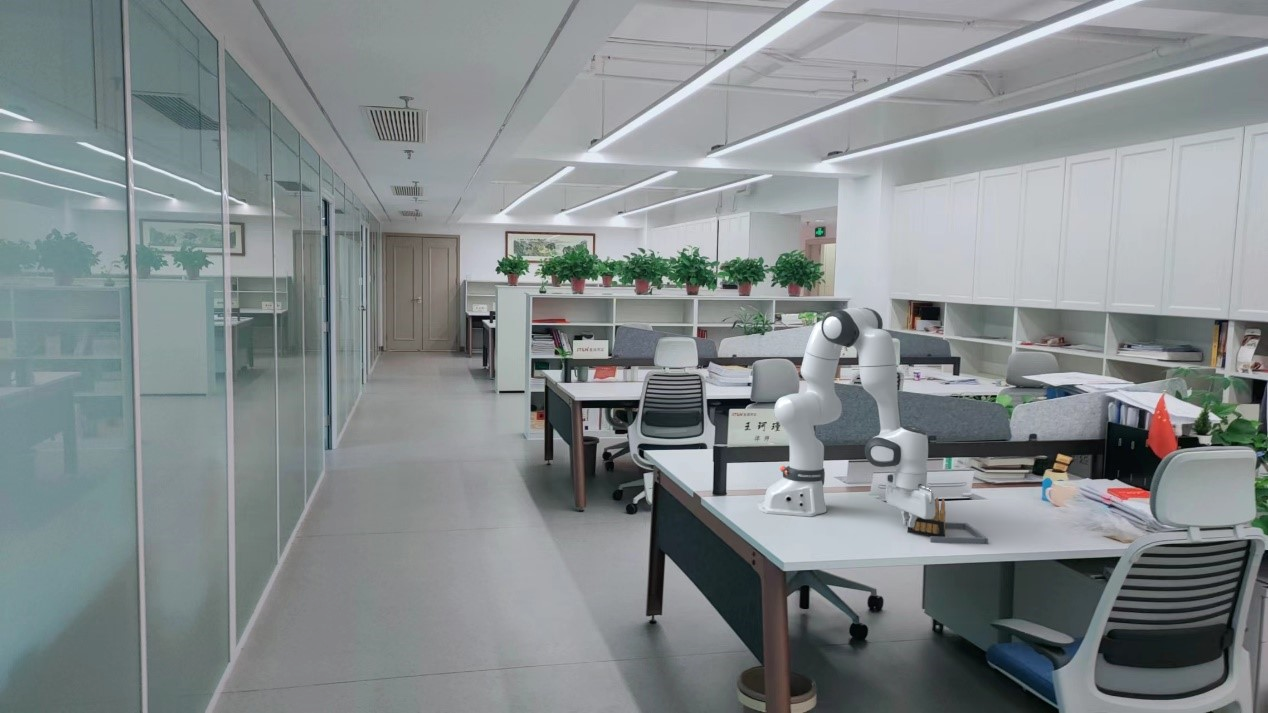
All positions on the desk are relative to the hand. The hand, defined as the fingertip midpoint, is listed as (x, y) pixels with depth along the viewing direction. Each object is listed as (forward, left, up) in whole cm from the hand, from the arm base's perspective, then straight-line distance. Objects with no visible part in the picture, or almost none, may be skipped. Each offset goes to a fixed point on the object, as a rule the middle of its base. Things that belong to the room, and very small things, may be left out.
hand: (908, 526), depth 259 cm
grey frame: (+13, 0, -3) cm, 13 cm away
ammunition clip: (+5, 0, -3) cm, 6 cm away
